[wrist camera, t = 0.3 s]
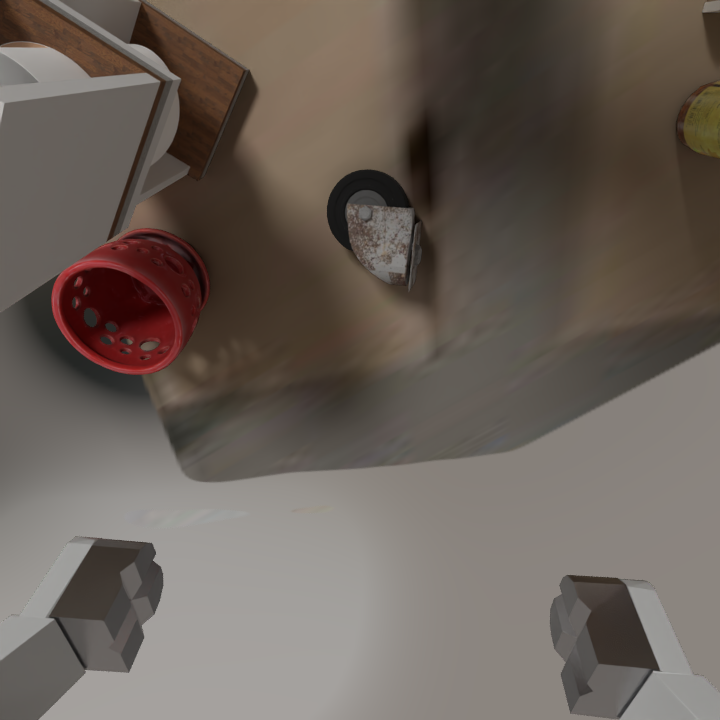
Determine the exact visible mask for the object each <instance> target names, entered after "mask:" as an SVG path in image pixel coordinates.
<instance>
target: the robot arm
mask: <svg viewBox="0 0 720 720" xmlns="http://www.w3.org/2000/svg"><path fill="white" fill-rule="evenodd" d="M155 555H156V552H155V549H154V547H153V544H152V543H146V542H135V541H122V540H112V539H102V538H90V537H78V536H76V537H74V538H73V539H72V540H71V541H69V542H68V543H67V544H66V546H65V547H64V549H63V550H62V552H61V553H60V555H59V556H58V558H57V559H56V561H55V562H54V564H53V565H52V567H51V568H50V570H49V571H48V573H47V574H46V576H45V577H44V579H43V580H42V582H41V583H40V585H39V586H38V588H37V589H36V591H35V592H34V594H33V595H32V597H31V598H30V600H29V601H28V603H27V604H26V606H25V607H24V609H23V610H22V612H21V613H20V615H11V616H9V617H8V618H6V619H5V620H3V621H2V622H1V623H0V720H38V719H39V718H40V717H41V716H42V715H44V714H45V713H46V711H48V710H49V709H50V708H51V707H52V706H53V705H54V704H55V703H56V702H57V701H58V700H59V699H60V698H61V697H62V696H63V695H64V694H65V693H66V692H67V691H68V690H69V689H70V688H71V687H72V686H73V685H74V684H75V683H76V682H77V681H78V680H79V679H80V678H81V677H82V676H83V675H84V674H85V670H97V671H113V672H128V673H129V671H130V669H131V667H132V664H133V662H134V660H135V657H136V655H137V653H138V650H139V648H140V646H141V644H142V642H143V639H144V634H143V629H142V624H144V623H145V622H146V621H147V620H148V619H150V618H151V617H152V616H153V615H154V614H155V611H156V609H157V606H158V604H159V601H160V598H161V593H162V589H163V573H162V569H161V567H160V566H159V565H158V564H156V563H155V562H154V561H153V559H154V557H155ZM560 589H561V592H562V594H561V595H560V596H558V597H556V598H554V600H553V604H552V606H551V610H550V627H551V635H552V639H553V644H554V649H555V650H556V651H557V652H558V653H559V655H560V656H561V657H562V658H563V659H564V661H565V662H566V664H565V666H564V668H563V670H562V672H561V677H562V682H563V686H564V689H565V694H566V698H567V702H568V706H569V710H570V713H571V714H578V715H587V716H595V717H603V718H611V719H619V720H720V692H719V691H718V690H717V689H716V688H715V687H714V686H713V685H712V684H711V683H710V682H709V681H708V680H707V679H706V678H705V677H704V676H703V675H697V674H694V673H693V671H692V669H691V667H690V665H689V662H688V660H687V658H686V656H685V654H684V651H683V649H682V647H681V645H680V643H679V641H678V638H677V636H676V634H675V632H674V630H673V627H672V625H671V623H670V621H669V619H668V616H667V614H666V612H665V610H664V608H663V605H662V603H661V601H660V599H659V597H658V595H657V592H656V590H655V588H654V587H653V586H652V585H651V584H650V582H647V581H643V580H628V579H618V578H609V577H607V578H606V577H592V576H591V577H590V576H575V575H566V576H565V577H563V579H562V581H561V583H560Z"/></svg>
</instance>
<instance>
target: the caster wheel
mask: <svg viewBox="0 0 720 720" xmlns="http://www.w3.org/2000/svg"><path fill="white" fill-rule="evenodd" d="M327 218H328V223H329V226H330V229H331V231H332V233H333V235H334V236H335V238H336V239H337V240H338V241H339V242H340V243H341V244H342V245H343V246H344V247H346V248H347V249H349V250H351V251H353V252H354V253H355V255H356V256H357V258H358V259H359V261H360V262H361V263H362V264H363V265H364V266H365V267H366V268H367V269H368V270H369V271H370V272H371V273H373V274H374V275H375V276H377V277H378V278H380V279H381V280H383V281H385V282H386V283H388V284H393V285H401V286H407V284H408V281H409V289H408V291H410V290H411V288H412V286H413V284H414V283H415V280H416V272H417V265H418V264H419V263H420V261H421V255H422V248H421V247H420V245H419V244H420V235H421V225H422V220H421V221H419V222H418V223H417V224H416V225H415V212H414V208H412V207H409V204H408V199H407V196H406V194H405V192H404V190H403V188H402V187H401V186H400V184H399V183H398V182H397V181H396V180H395V179H394V178H392V177H391V176H389V175H387V174H385V173H383V172H380V171H375V170H359V171H355V172H352V173H350V174H348V175H346V176H345V177H344V178H342V179H341V180H340V181H339V182H338V183H337V184H336V186H335V187H334V189H333V190H332V192H331V194H330V197H329V200H328V205H327ZM414 225H415V232H414ZM409 277H410V280H409Z"/></svg>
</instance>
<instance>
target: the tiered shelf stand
mask: <svg viewBox="0 0 720 720" xmlns="http://www.w3.org/2000/svg"><path fill="white" fill-rule="evenodd" d="M248 71H249V69H247V68H246V67H244V66H243V65H241V64H240V63H238V62H237V61H235V60H234V59H232V58H231V57H229V56H228V55H226V54H225V53H223V52H222V51H220V50H219V49H217V48H216V47H214V46H213V45H211V44H210V43H208V42H207V41H205V40H204V39H202V38H201V37H199V36H198V35H196V34H195V33H193V32H192V31H190V30H189V29H187V28H186V27H184V26H183V25H181V24H180V23H178V22H177V21H175V20H174V19H172V18H171V17H169V16H168V15H166V14H165V13H164V12H162V11H161V10H159V9H158V8H156V7H155V6H153V5H152V4H150V3H149V2H147V1H146V0H0V313H1V312H2V311H4V310H5V309H7V308H8V307H10V306H11V305H13V304H14V303H16V302H17V301H19V300H20V299H22V298H23V297H25V296H26V295H27V294H29V293H31V292H32V291H34V290H35V289H36V288H38V287H39V286H41V285H43V284H44V283H46V282H47V281H49V280H50V279H52V278H53V277H55V276H56V275H57V274H59V273H61V272H62V271H64V270H65V269H67V268H68V267H70V266H71V265H73V264H74V263H76V262H77V261H79V260H80V259H82V258H83V257H84V256H86V255H87V254H89V253H90V252H92V251H93V250H95V249H96V248H98V247H99V246H101V245H102V244H104V243H105V242H107V241H108V240H110V239H111V238H113V237H114V236H116V235H117V234H119V233H120V232H122V231H123V230H125V229H126V228H128V226H129V224H130V221H131V218H132V215H133V213H134V210H135V207H136V205H137V204H139V203H141V202H142V201H144V200H146V199H147V198H149V197H151V196H152V195H154V194H156V193H157V192H159V191H161V190H162V189H164V188H166V187H167V186H169V185H171V184H172V183H174V182H176V181H177V180H179V179H180V178H182V177H184V176H185V175H189V176H190V177H192V178H194V179H196V180H197V181H198V180H200V179H201V178H203V177H204V176H205V174H206V171H207V169H208V166H209V164H210V162H211V159H212V157H213V155H214V152H215V150H216V147H217V145H218V143H219V140H220V138H221V136H222V133H223V131H224V128H225V126H226V124H227V121H228V119H229V117H230V114H231V112H232V109H233V107H234V105H235V102H236V100H237V97H238V95H239V93H240V90H241V88H242V86H243V83H244V81H245V78H246V76H247V74H248Z"/></svg>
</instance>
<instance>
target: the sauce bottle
mask: <svg viewBox="0 0 720 720" xmlns="http://www.w3.org/2000/svg"><path fill="white" fill-rule="evenodd" d="M677 132H678V137H679V139H680V141H681V142H682V143H683V144H684V145H686V146H687V147H689V148H691V149H692V150H694V151H695V152H697V153H699V154H703V155H708V156H711V157H715V158H719V159H720V81H716V82H713V83H709V84H707V85H704V86H702V87H700V88H699V89H697V90H696V91H695V92H694V93H693V94H692V95H691V96H690V97H689V98H688V99H687V101H686V102H685V104H684V105H683V106H682V108H681V110H680V113H679V115H678V119H677Z"/></svg>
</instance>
